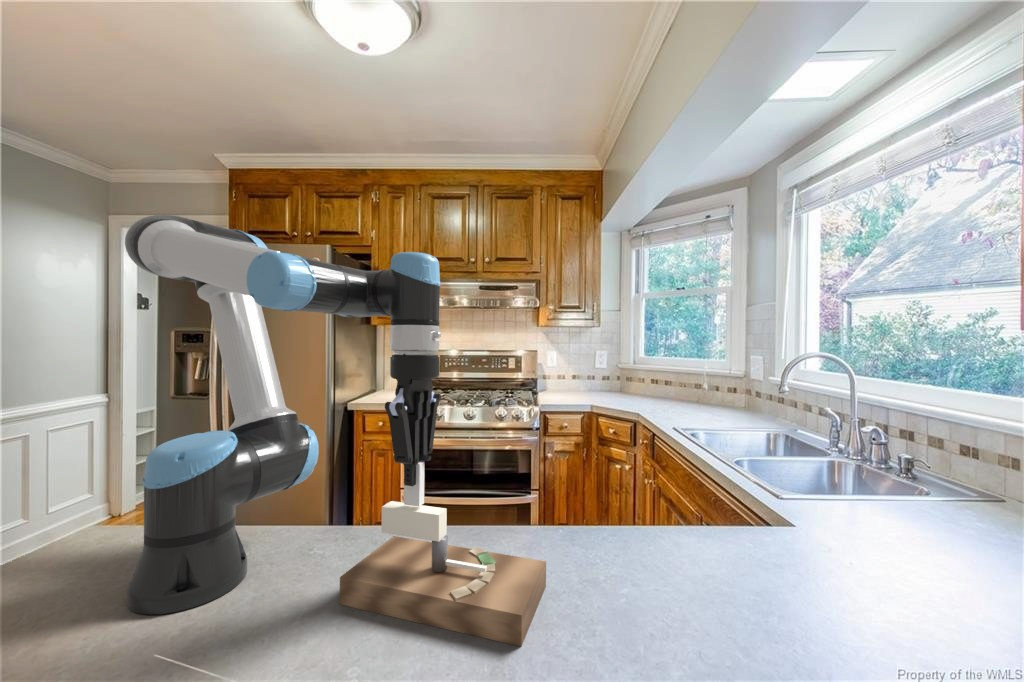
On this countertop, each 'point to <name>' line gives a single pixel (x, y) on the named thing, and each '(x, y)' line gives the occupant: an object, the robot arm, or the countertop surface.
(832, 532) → the countertop surface
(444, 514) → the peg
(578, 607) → the countertop surface
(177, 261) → the robot arm
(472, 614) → the board
